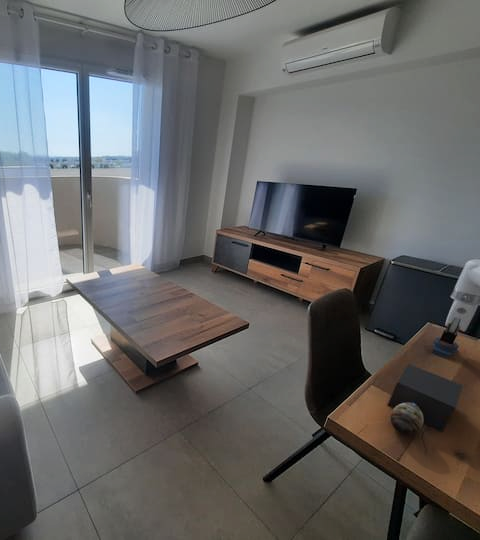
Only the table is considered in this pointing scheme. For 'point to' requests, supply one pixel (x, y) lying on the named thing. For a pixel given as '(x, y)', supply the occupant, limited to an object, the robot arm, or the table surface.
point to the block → (444, 348)
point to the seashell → (407, 418)
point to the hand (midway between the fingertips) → (446, 341)
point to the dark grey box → (427, 395)
